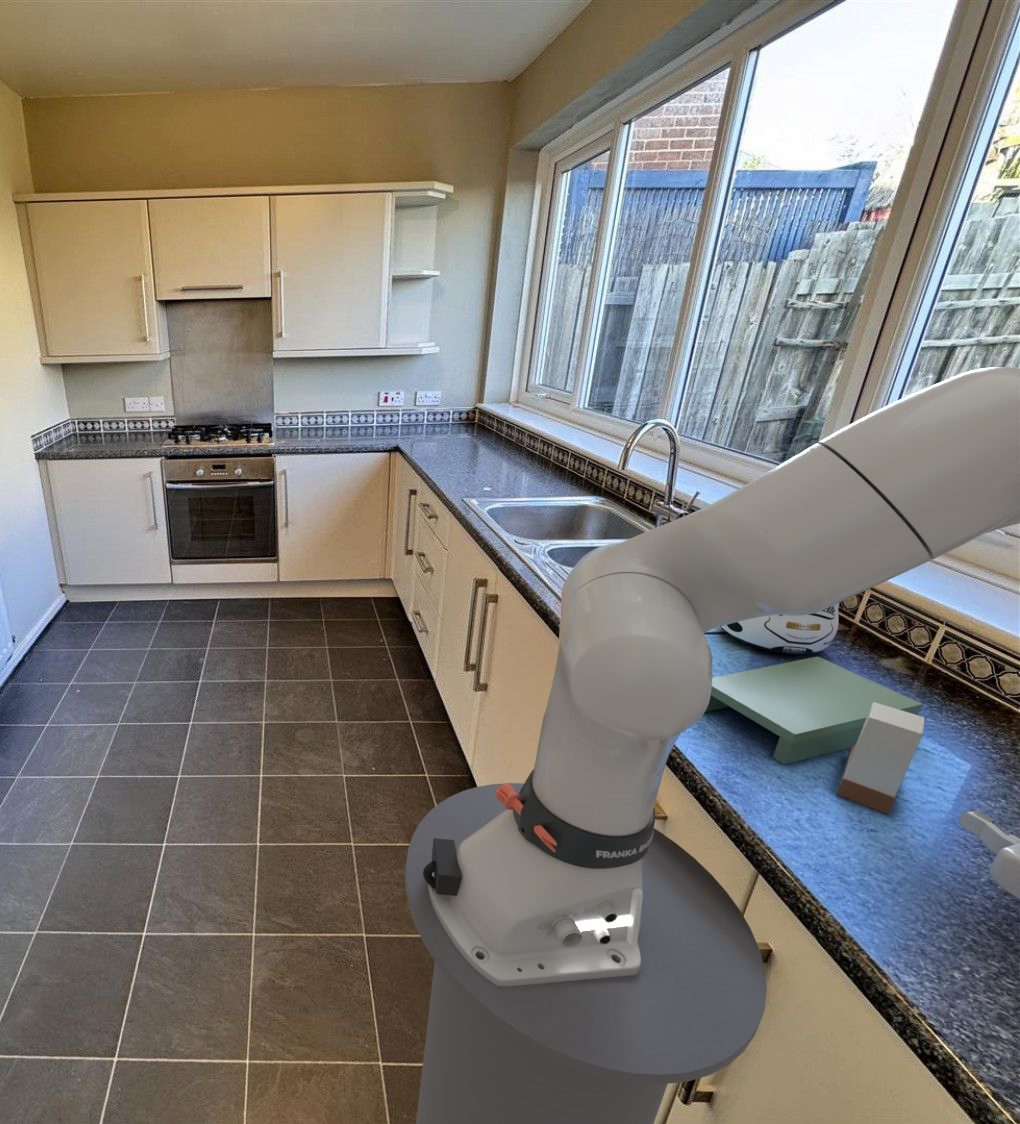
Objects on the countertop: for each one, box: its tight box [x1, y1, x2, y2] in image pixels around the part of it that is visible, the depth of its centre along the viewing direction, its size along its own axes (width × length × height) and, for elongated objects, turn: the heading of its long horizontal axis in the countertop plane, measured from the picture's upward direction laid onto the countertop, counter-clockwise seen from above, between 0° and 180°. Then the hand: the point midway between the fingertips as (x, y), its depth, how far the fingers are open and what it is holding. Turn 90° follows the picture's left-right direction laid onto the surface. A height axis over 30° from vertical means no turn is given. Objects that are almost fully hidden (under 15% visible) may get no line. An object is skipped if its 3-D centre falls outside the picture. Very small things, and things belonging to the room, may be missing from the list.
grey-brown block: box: [836, 702, 926, 815], centre depth 78 cm, size 10×5×12 cm, turn 133°
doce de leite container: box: [719, 603, 840, 656], centre depth 112 cm, size 17×17×18 cm
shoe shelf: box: [704, 656, 923, 766], centre depth 92 cm, size 24×14×5 cm, turn 105°
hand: (995, 806), depth 66 cm, fingers open, 8 cm apart
